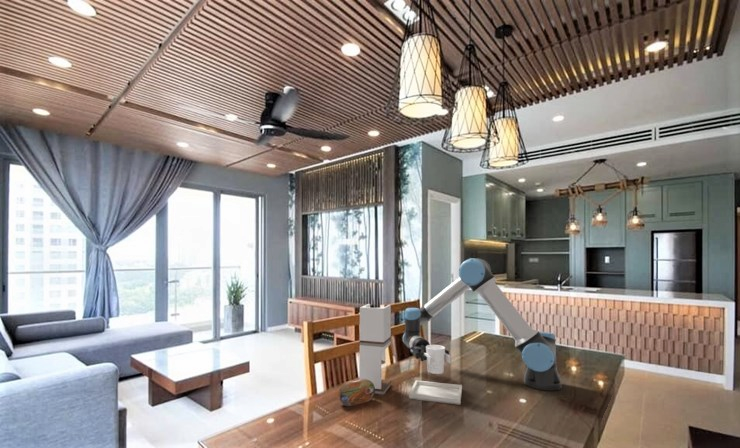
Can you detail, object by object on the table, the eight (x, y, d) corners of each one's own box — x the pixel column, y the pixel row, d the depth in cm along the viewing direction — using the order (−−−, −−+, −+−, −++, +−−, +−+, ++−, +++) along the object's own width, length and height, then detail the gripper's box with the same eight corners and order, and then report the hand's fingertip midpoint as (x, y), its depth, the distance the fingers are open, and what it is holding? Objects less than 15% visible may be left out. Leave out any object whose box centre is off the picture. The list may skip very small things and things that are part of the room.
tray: (462, 389, 155) (462, 385, 156) (460, 404, 140) (460, 399, 140) (415, 384, 161) (415, 380, 161) (409, 398, 146) (409, 393, 146)
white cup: (445, 375, 147) (445, 350, 148) (425, 373, 148) (425, 348, 149) (445, 369, 155) (444, 345, 155) (426, 367, 156) (426, 344, 157)
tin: (340, 408, 137) (340, 385, 138) (337, 405, 140) (337, 382, 140) (375, 400, 144) (375, 378, 145) (371, 398, 147) (371, 376, 147)
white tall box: (383, 394, 150) (383, 308, 153) (359, 391, 153) (359, 307, 156) (390, 385, 161) (390, 304, 164) (368, 382, 164) (368, 303, 167)
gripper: (440, 352, 171) (463, 368, 149) (398, 355, 167) (416, 371, 145) (440, 336, 172) (463, 349, 150) (398, 338, 167) (416, 352, 145)
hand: (440, 360), depth 147 cm, fingers closed on white cup, 7 cm apart
